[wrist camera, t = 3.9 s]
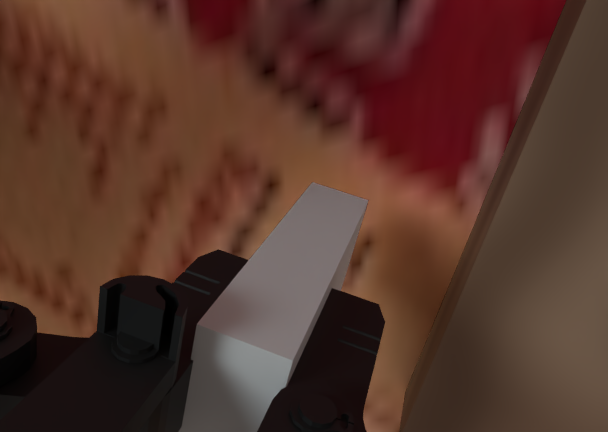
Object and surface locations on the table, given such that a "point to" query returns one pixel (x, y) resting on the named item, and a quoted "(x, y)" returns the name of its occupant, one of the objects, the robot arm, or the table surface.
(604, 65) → the deck
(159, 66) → the table surface
